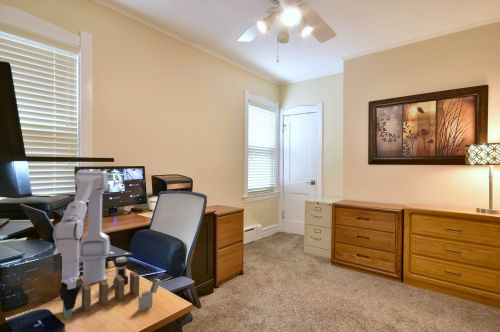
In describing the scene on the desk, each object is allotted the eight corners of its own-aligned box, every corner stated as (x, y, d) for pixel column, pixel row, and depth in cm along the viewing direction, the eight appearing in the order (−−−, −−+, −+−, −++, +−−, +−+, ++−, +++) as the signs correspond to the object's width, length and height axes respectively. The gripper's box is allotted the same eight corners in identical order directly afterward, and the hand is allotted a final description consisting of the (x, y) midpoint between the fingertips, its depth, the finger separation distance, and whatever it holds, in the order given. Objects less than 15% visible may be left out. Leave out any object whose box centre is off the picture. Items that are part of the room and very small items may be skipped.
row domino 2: (98, 300, 90) (99, 280, 90) (103, 299, 91) (104, 278, 91) (102, 306, 86) (102, 285, 86) (107, 305, 87) (108, 283, 87)
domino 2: (129, 291, 97) (129, 272, 97) (134, 290, 98) (134, 271, 98) (134, 296, 93) (134, 276, 93) (139, 295, 94) (139, 275, 94)
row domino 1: (81, 305, 87) (81, 284, 87) (87, 304, 88) (87, 282, 88) (84, 312, 83) (85, 289, 83) (90, 310, 84) (90, 288, 84)
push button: (111, 289, 98) (111, 262, 98) (107, 284, 102) (107, 258, 102) (130, 284, 102) (130, 258, 102) (125, 280, 106) (126, 255, 106)
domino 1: (62, 311, 83) (62, 289, 83) (68, 309, 84) (69, 287, 84) (65, 318, 79) (65, 294, 79) (71, 316, 81) (71, 293, 81)
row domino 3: (114, 296, 93) (115, 276, 93) (119, 294, 94) (119, 274, 94) (119, 301, 90) (119, 280, 90) (124, 300, 91) (124, 279, 91)
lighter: (141, 311, 84) (141, 286, 84) (138, 309, 85) (138, 284, 85) (160, 302, 90) (160, 278, 90) (157, 300, 91) (157, 277, 91)
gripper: (49, 256, 85) (48, 299, 85) (55, 270, 74) (54, 319, 74) (75, 252, 89) (74, 292, 89) (84, 264, 79) (83, 310, 79)
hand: (67, 304), depth 82 cm, fingers open, 7 cm apart
